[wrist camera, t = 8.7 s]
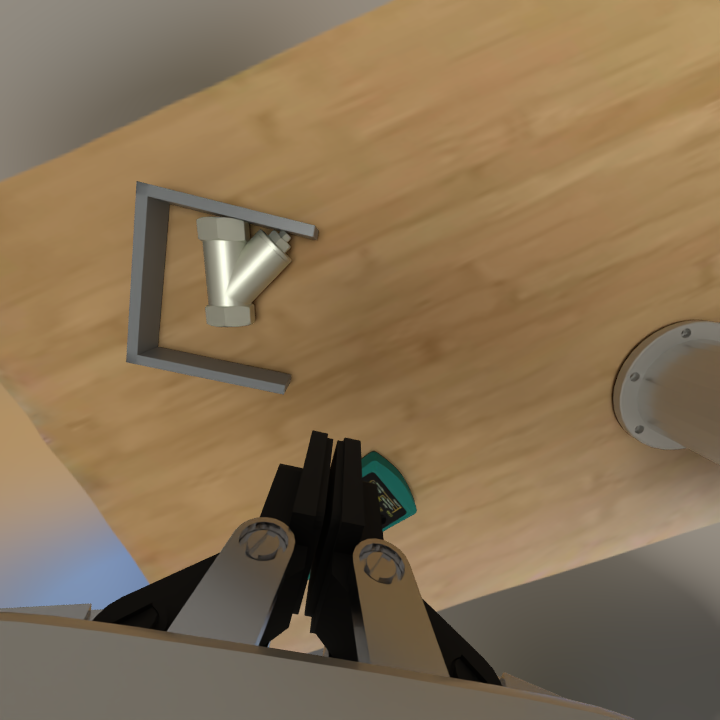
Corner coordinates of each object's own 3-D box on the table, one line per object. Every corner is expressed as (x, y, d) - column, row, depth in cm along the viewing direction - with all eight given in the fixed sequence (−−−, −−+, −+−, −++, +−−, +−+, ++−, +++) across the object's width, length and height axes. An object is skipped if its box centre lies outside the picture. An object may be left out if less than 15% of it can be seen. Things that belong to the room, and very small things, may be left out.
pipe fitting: (292, 225, 28) (209, 222, 27) (288, 218, 24) (191, 215, 24) (295, 320, 30) (218, 320, 29) (291, 327, 26) (202, 327, 26)
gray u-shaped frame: (318, 230, 28) (314, 225, 25) (289, 382, 31) (283, 394, 28) (160, 190, 26) (136, 181, 24) (148, 353, 30) (126, 362, 27)
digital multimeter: (418, 494, 35) (424, 513, 32) (307, 564, 37) (303, 588, 34) (378, 443, 33) (380, 459, 31) (263, 519, 35) (256, 541, 32)
